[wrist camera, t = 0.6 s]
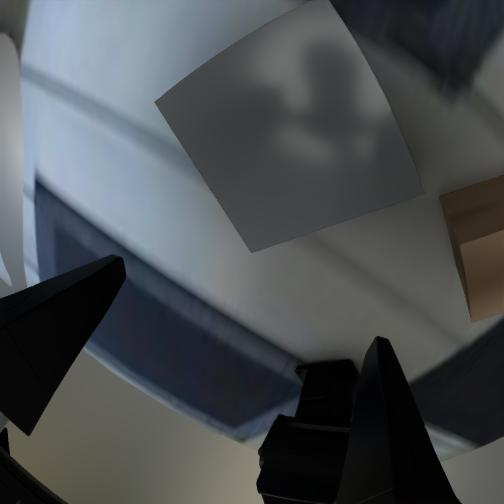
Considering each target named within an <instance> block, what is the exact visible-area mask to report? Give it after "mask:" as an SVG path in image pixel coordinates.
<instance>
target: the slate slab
mask: <svg viewBox="0 0 504 504" xmlns="http://www.w3.org/2000/svg"><path fill="white" fill-rule="evenodd" d="M155 104H156V106H157V107H158V109H159V110H160V112H161V113H162V115H163V116H164V118H165V120H166V121H167V123H168V124H169V126H170V127H171V129H172V130H173V132H174V134H175V135H176V137H177V138H178V140H179V141H180V143H181V145H182V146H183V148H184V149H185V151H186V152H187V154H188V155H189V157H190V159H191V160H192V162H193V163H194V165H195V166H196V168H197V169H198V171H199V173H200V174H201V176H202V177H203V179H204V180H205V182H206V183H207V185H208V187H209V188H210V190H211V191H212V193H213V194H214V196H215V197H216V199H217V201H218V202H219V204H220V205H221V207H222V208H223V210H224V211H225V213H226V215H227V216H228V218H229V219H230V221H231V222H232V224H233V225H234V227H235V229H236V230H237V232H238V233H239V235H240V236H241V238H242V239H243V241H244V243H245V244H246V246H247V247H248V249H249V250H250V252H251V253H253V252H256V251H259V250H262V249H265V248H268V247H271V246H274V245H276V244H279V243H282V242H285V241H288V240H291V239H294V238H297V237H300V236H303V235H306V234H308V233H311V232H314V231H317V230H320V229H323V228H326V227H329V226H332V225H335V224H338V223H341V222H343V221H346V220H349V219H352V218H355V217H358V216H361V215H364V214H367V213H370V212H373V211H375V210H378V209H381V208H384V207H387V206H390V205H393V204H396V203H399V202H402V201H405V200H407V199H410V198H413V197H416V196H419V195H422V194H425V193H424V190H423V187H422V184H421V181H420V178H419V176H418V173H417V170H416V167H415V165H414V162H413V159H412V157H411V154H410V152H409V149H408V147H407V144H406V142H405V139H404V137H403V135H402V132H401V130H400V128H399V125H398V123H397V121H396V119H395V116H394V114H393V112H392V110H391V108H390V105H389V103H388V101H387V99H386V97H385V95H384V93H383V91H382V89H381V87H380V85H379V83H378V81H377V79H376V77H375V75H374V74H373V72H372V70H371V68H370V66H369V64H368V62H367V61H366V59H365V57H364V55H363V54H362V52H361V50H360V48H359V47H358V45H357V43H356V42H355V40H354V38H353V37H352V35H351V33H350V32H349V30H348V29H347V27H346V25H345V24H344V22H343V21H342V19H341V18H340V16H339V15H338V13H337V12H336V10H335V9H334V7H333V6H332V4H331V3H330V1H329V0H311V1H309V2H307V3H305V4H303V5H301V6H299V7H297V8H295V9H293V10H291V11H289V12H287V13H285V14H284V15H282V16H280V17H278V18H276V19H274V20H273V21H271V22H269V23H267V24H266V25H264V26H262V27H260V28H259V29H257V30H255V31H254V32H252V33H250V34H249V35H247V36H245V37H244V38H242V39H241V40H239V41H237V42H236V43H234V44H233V45H231V46H230V47H228V48H227V49H225V50H224V51H222V52H221V53H219V54H218V55H216V56H215V57H213V58H212V59H210V60H209V61H207V62H206V63H205V64H203V65H202V66H200V67H199V68H198V69H196V70H195V71H193V72H192V73H191V74H189V75H188V76H187V77H185V78H184V79H183V80H181V81H180V82H179V83H178V84H176V85H175V86H174V87H172V88H171V89H170V90H169V91H167V92H166V93H165V94H164V95H162V96H161V97H160V98H159V99H158V100H156V101H155Z"/></svg>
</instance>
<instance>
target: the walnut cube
mask: <svg viewBox="0 0 504 504" xmlns="http://www.w3.org/2000/svg"><path fill="white" fill-rule="evenodd" d="M439 199H440V202H441V205H442V209H443V212H444V216H445V220H446V224H447V227H448V231H449V235H450V240H451V244H452V248H453V253H454V257H455V262H456V267H457V270H458V273H459V276H460V280H461V283H462V287H463V290H464V294H465V298H466V301H467V305H468V309H469V313H470V317H471V322H475V321H478V320H481V319H484V318H487V317H491V316H494V315H497V314H500V313H503V312H504V175H501V176H498V177H495V178H493V179H490V180H487V181H484V182H481V183H478V184H475V185H472V186H469V187H467V188H464V189H461V190H458V191H455V192H452V193H449V194H446V195H443V196H440V197H439Z"/></svg>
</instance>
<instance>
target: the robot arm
mask: <svg viewBox="0 0 504 504" xmlns="http://www.w3.org/2000/svg"><path fill="white" fill-rule="evenodd" d="M125 279H126V270H125V264H124V259H123V258H122V257H121V256H118V255H115V254H111V255H109V256H106V257H103V258H101V259H98V260H96V261H93V262H90V263H88V264H85V265H83V266H80V267H78V268H75V269H73V270H70V271H68V272H65V273H63V274H60V275H58V276H55V277H53V278H50V279H48V280H46V281H43V282H41V283H38V284H36V285H34V286H33V287H32V286H31V287H29V288H26V289H24V290H22V291H19V292H16V293H14V294H11V295H8V296H6V297H3V298H0V504H68V503H67V502H65V501H64V500H63V499H61V498H60V497H59V496H57V495H56V494H54V493H53V492H52V491H51V490H50V489H48V488H47V487H46V486H44V485H43V484H42V483H41V482H39V481H38V480H37V479H36V478H35V477H34V476H32V475H31V474H30V473H29V472H28V471H27V470H26V469H24V468H23V467H22V466H21V465H20V464H19V463H18V462H17V461H16V460H15V459H13V458H12V457H11V456H10V451H9V442H8V432H7V428H6V427H5V426H6V424H7V423H8V422H9V420H10V421H11V422H12V423H14V424H15V425H16V426H17V427H18V428H19V429H20V430H21V431H23V432H24V433H25V434H26V435H27V436H30V434H31V433H32V431H33V429H34V427H35V426H36V424H37V422H38V420H39V418H40V417H41V415H42V413H43V412H44V410H45V408H46V406H47V405H48V403H49V401H50V400H51V398H52V396H53V394H54V392H55V391H56V389H57V388H58V386H59V385H60V383H61V381H62V380H63V378H64V376H65V375H66V373H67V372H68V370H69V368H70V367H71V365H72V364H73V362H74V361H75V359H76V357H77V356H78V354H79V353H80V351H81V350H82V348H83V347H84V345H85V344H86V342H87V341H88V339H89V338H90V336H91V335H92V333H93V332H94V330H95V329H96V327H97V326H98V324H99V323H100V322H101V320H102V319H103V317H104V316H105V314H106V313H107V311H108V309H109V308H110V306H111V304H112V302H113V300H114V299H115V297H116V295H117V293H118V292H119V290H120V288H121V286H122V285H123V283H124V281H125ZM295 373H296V374H297V376H298V377H299V378H300V380H301V381H302V382H303V387H302V390H301V394H300V398H299V404H298V407H297V411H296V414H295V416H296V417H291V416H284V415H282V414H279V415H278V416H277V418H276V420H275V421H274V423H273V425H272V426H271V428H270V430H269V432H268V434H267V436H266V438H265V440H264V442H263V444H262V446H261V447H260V448H259V450H258V454H259V456H260V460H259V465H260V469H261V471H260V474H259V477H258V479H257V482H256V485H257V490H258V493H259V494H261V495H262V498H263V501H264V504H462V503H461V502H460V501H459V500H458V498H457V497H456V496H455V494H454V492H453V490H452V487H451V485H450V483H449V481H448V479H447V476H446V475H445V472H444V470H443V468H442V466H441V464H440V461H439V459H438V457H437V455H436V453H435V450H434V448H433V445H432V443H431V440H430V438H429V435H428V432H427V430H426V428H424V427H425V425H424V422H423V419H422V417H421V414H420V412H419V409H418V407H417V404H416V402H415V399H414V397H413V394H412V392H411V389H410V387H409V384H408V382H407V380H406V377H405V375H404V373H403V370H402V368H401V366H400V363H399V361H398V359H397V357H396V354H395V352H394V350H393V348H392V345H391V343H390V341H389V340H388V339H387V338H384V337H380V336H377V337H375V339H374V340H373V342H372V344H371V345H370V347H369V349H368V350H367V352H366V355H365V359H364V363H363V368H362V372H361V376H360V375H359V373H358V371H357V369H356V367H355V365H354V363H353V362H352V361H351V360H344V361H337V362H331V363H324V364H317V365H309V366H301V367H297V368H296V370H295Z"/></svg>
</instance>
